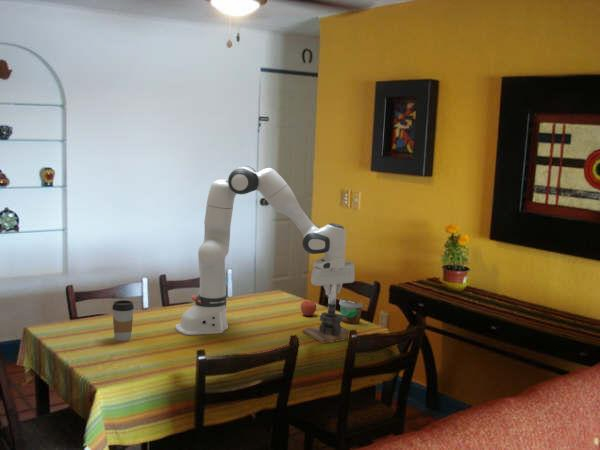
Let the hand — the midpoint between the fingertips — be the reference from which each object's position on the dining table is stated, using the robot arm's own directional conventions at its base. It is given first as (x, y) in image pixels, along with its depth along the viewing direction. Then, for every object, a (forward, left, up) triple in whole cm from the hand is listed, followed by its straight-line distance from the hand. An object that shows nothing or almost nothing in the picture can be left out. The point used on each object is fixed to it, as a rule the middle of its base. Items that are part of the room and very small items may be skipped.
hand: (332, 294), depth 292 cm
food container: (+18, +13, -18) cm, 29 cm away
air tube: (0, 0, -8) cm, 8 cm away
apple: (+7, +29, -18) cm, 35 cm away
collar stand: (0, 0, -18) cm, 18 cm away
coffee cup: (-81, +28, -18) cm, 88 cm away
